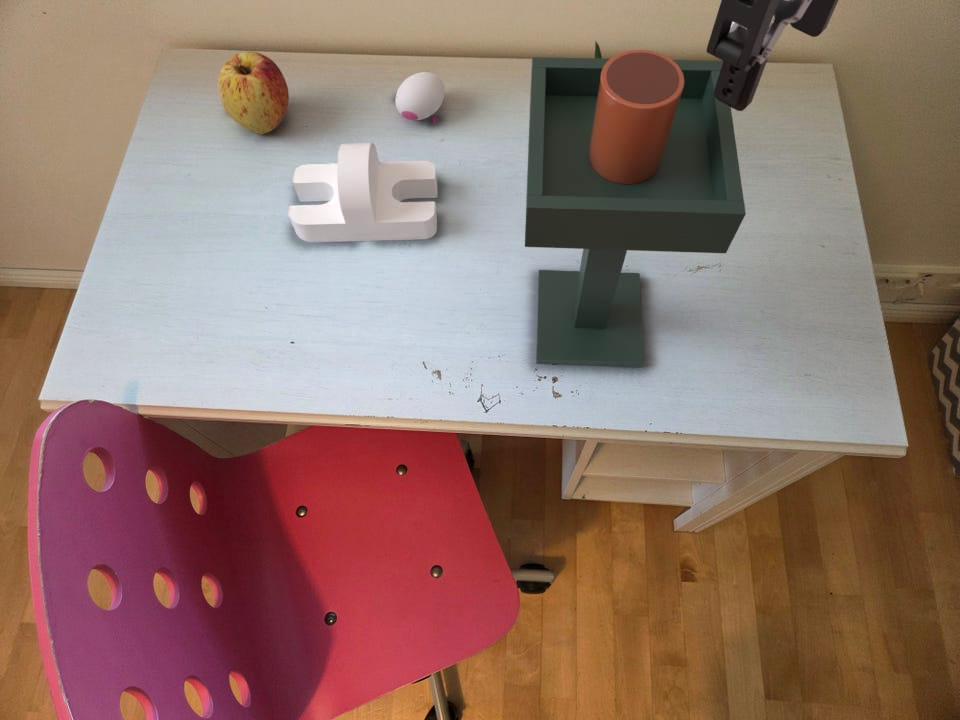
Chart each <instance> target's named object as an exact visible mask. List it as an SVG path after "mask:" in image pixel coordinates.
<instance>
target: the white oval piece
mask: <svg viewBox="0 0 960 720" xmlns="http://www.w3.org/2000/svg"><path fill="white" fill-rule="evenodd" d="M445 94H446V88H445V84H444V82H443V80H442V78H440V76H438V75H437V74H435V73H433V72H429V71H421V72H417V73H414V74H411V75H410V76H408V77H407V78H405V79H404V81H402V83H401V84H400V86H398V89H397V91H396V94H395V100H394V101H395V107H396V110H397V112H398V113H399V114H400V116H401V117H403V118H405V119H407V120H410V121H421V120H425V119H426V118H430V117H432V121H433V123H432V124H435V123H436V122H437V121H439V119H438V118H437V117H434V114H435V113H436V112H437V111H438V110H439V109H440V108H441V105H442V104H443V101H444V99H445Z"/></svg>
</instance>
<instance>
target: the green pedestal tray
mask: <svg viewBox="0 0 960 720" xmlns="http://www.w3.org/2000/svg"><path fill="white" fill-rule="evenodd" d="M610 59H611V58H595V57H594V58H592V57H549V56H547V57H544V56H543V57H542V56H540V57H539V56H533V57H532V58H531V75H530V92H529V93H530V97H529V119H528V120H529V121H528V147H527V169H526V171H527V172H526V176H527V177H526V198H525V199H526V200H525V224H524V225H525V227H524V248H543V249H544V248H546V249H547V248H548V249H575V250H577V249H578V250H582V253H581V254H582V255H581V259H580V265H579V270H555V269H554V270H553V269H539V270H538V274H537V275H538V277H537V311H536V312H537V316H536V348H535V349H536V353H535V354H536V355H535V364H545V365H546V364H548V365H569V366H570V365H571V366H572V365H573V366H593V367H594V366H595V367H596V366H597V367H622V368H644V367H643V366H644V365H645V355H644V354H645V353H644V333H643V332H644V331H643V315H642V314H643V313H642V296H641V293H642V292H641V276H640V275H641V274H640V273H639V272H622V271H623V267H624V263H625V260H626V255H627V253H628V251H637V252H639V251H641V252H667V253H669V252H670V253H695V254H697V253H698V254H727V253H728V250H729V249H730V246H731V244H732V242H733V241H734V239H735V237H736V234H737V233H738V231H739V229H740V227H741V224H742V223H743V220H744V219H745V217H746V214H747V213H746V205H745V199H744V191H743V184H742V177H741V170H740V163H739V155H738V147H737V142H736V135H735V127H734V126H735V125H734V121H733V113H732V107H730V106H728V105H726V104H724V103H722V102H720V101H719V100H717V99H716V97H715V95H714V90H715V87H716V83H717V80H718V77H719V74H720V71H721V67H722V64H723V60H710V59H709V60H708V59H707V60H706V59H704V60H703V59H701V60H700V59H672V60H673V61H674V62H675V63H676V64H677V65H678V66H679V67H680V69H681V71H682V73H683V76H684V88H683V91H682V95H681V98H680V101H679V105H678V108H677V112H676V115H675V118H674V122H673V125H672V129H671V132H670V135H669V139H668V142H667V146H666V149H665V152H664V156H663V159H662V162H661V165H660V168H659V169H658V171H657V172H656V173H655V174H654V175H653V176H652V177H651V178H649V179H648V180H645V181H643V182H640V183H636V184H619V183H614V182H611V181H609V180H607V179H605V178H603V177H602V176H600V175H599V174H598V173H597V172H596V171H595V170H594V169H593V167H592V166H591V163H590V161H589V146H590V140H591V134H592V127H593V121H594V115H595V108H596V102H597V96H598V89H599V83H600V76H601V72H602V69H603V67H604V65H605V64H606V63H607V62H608V61H609V60H610Z"/></svg>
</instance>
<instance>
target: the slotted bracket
mask: <svg viewBox="0 0 960 720" xmlns="http://www.w3.org/2000/svg"><path fill="white" fill-rule="evenodd" d="M292 185H293V187H294V190H295V193H296V196H297V198H298V200H299V202H301V203H302V202H303V203H304V202H324V203H322V204H305V205H304V204H303V205H302V204H301V205H289V207H288V213H287V215H288V218H289V219H290V222H291V224H292V227H293V230H294V232H295V234H296V235H297V237H298V238H299V239H301V240H302V241H304V242H307V243H341V242H342V243H343V242H344V243H345V242H376V241H377V242H379V241H380V242H381V241H411V240H412V241H413V240H415V241H417V240H429V239H431V238H433V237H434V236H435V235H436V234H437V231H438V216H437V209H436V202H435V201H407V202H405V200H408V199H410V200H411V199H437V198H438V195H439V193H438V192H439V191H438V189H439V188H438V179H437V170H436V166H435V164H434V163H432V162H431V161H428V160H410V161H409V160H408V161H407V160H405V161H380V160H379V155H378V151H377V147H376V144H375V143H374V142H355V143H341V144H340V146H339V148H338V153H337V162H336V163H311V164H308V163H307V164H301V165H299V166H298V167H296V168H295V169H294V171H293V177H292Z"/></svg>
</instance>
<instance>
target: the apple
mask: <svg viewBox="0 0 960 720" xmlns="http://www.w3.org/2000/svg"><path fill="white" fill-rule="evenodd" d="M217 93H218V97H219V100H220V102H221V105H222V107H223V109H224V111H225V113H227V115H228V116H229V117H230V118H231V119H232V120H233V121H234V122H236V123H237V124H238V125H239V126H241V127H242V128H244V129H245V130H248V131H250V132H251V133H255V134H260V135H263V134H264V135H265V134H269V133H270V132H272V131H274V129H276V128H277V127H278V126H279V125H280V123H281V122H282V121H283V120H284V117H285V115H286V112H287V110H288V105H289V99H290V98H289V97H290V95H289V93H290V92H289V87H288V84H287V81H286V79H285V76H284V74H283V72H282V70H281V69H280V68H279V66H278V64H276V62H275V61H274V60H272V59H271V58H270V57H268V56H266V55H265V54H263V53H259V52H256V51H243V52H238V53H236V54H235V55H233V56H232V57H230V58H229V59H228V60H227V61H226V62H225V63H224V65H222V67H221V69H220V72H219V74H218V79H217Z"/></svg>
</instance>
